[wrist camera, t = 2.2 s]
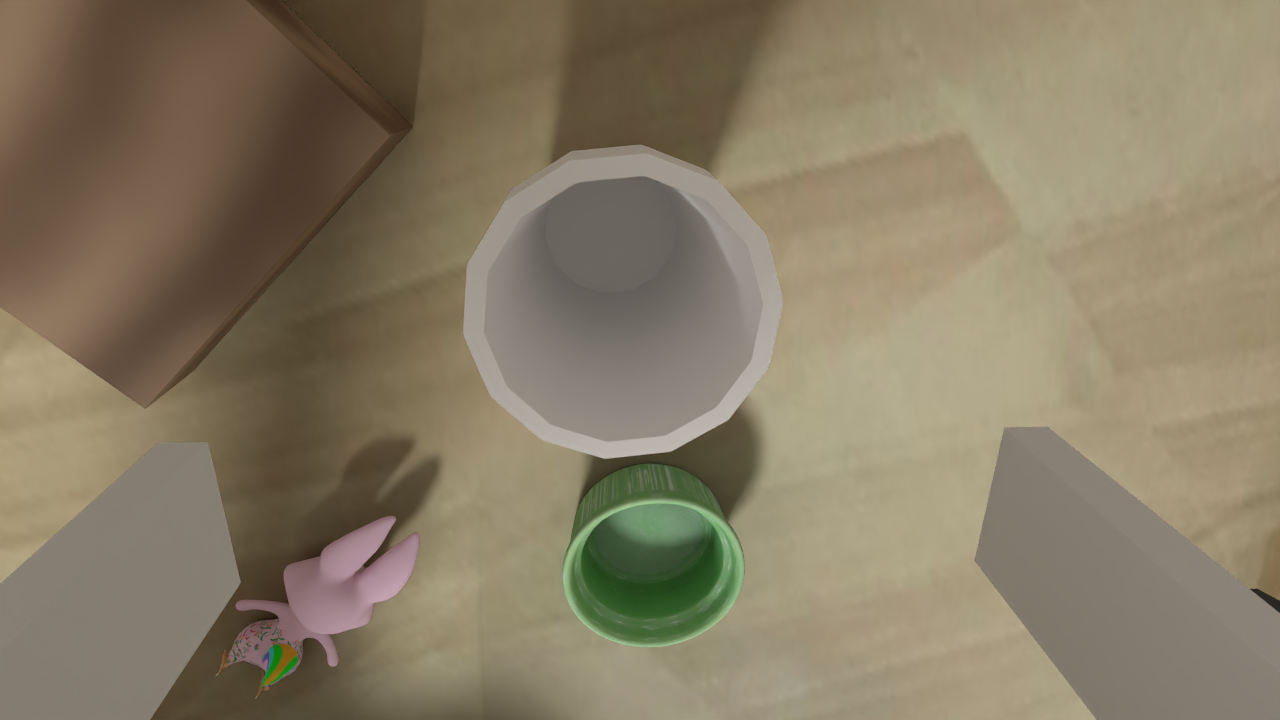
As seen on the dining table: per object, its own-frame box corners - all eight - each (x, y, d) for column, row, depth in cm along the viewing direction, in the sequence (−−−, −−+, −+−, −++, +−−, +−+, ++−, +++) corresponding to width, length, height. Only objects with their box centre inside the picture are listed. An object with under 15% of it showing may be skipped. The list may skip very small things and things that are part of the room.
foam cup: (579, 74, 31) (575, 81, 19) (752, 194, 34) (844, 268, 22) (469, 258, 34) (405, 367, 22) (637, 358, 36) (662, 505, 24)
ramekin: (530, 536, 40) (524, 589, 36) (640, 420, 38) (646, 463, 34) (654, 617, 43) (661, 675, 38) (763, 513, 40) (783, 563, 36)
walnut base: (412, 126, 32) (390, 135, 28) (191, 372, 35) (144, 408, 31) (63, -208, 27) (-22, -252, 23) (-155, 116, 30) (-260, 124, 26)
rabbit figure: (309, 668, 44) (465, 537, 38) (259, 764, 39) (431, 629, 33) (216, 612, 42) (366, 466, 36) (150, 705, 37) (313, 551, 31)
